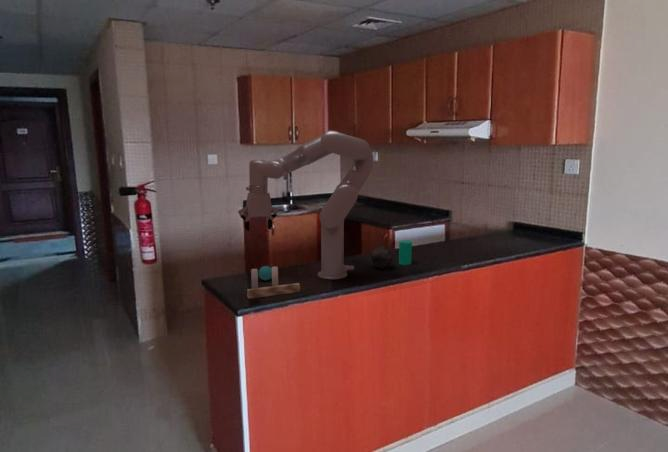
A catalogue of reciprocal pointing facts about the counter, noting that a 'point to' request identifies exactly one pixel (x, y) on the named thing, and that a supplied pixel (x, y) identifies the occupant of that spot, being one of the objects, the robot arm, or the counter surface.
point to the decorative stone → (382, 257)
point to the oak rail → (273, 290)
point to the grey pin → (254, 278)
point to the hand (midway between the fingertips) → (258, 229)
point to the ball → (265, 273)
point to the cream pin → (274, 276)
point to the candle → (405, 252)
